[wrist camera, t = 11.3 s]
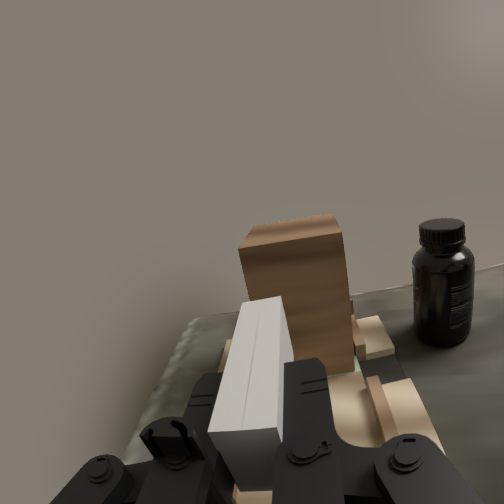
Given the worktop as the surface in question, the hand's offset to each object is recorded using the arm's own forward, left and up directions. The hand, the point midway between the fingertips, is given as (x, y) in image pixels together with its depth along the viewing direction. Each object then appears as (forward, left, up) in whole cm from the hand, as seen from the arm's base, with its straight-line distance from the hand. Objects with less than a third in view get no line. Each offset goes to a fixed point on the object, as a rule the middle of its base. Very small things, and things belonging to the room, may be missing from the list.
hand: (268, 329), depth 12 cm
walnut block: (+14, -8, -13) cm, 21 cm away
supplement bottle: (+8, -22, -14) cm, 27 cm away
